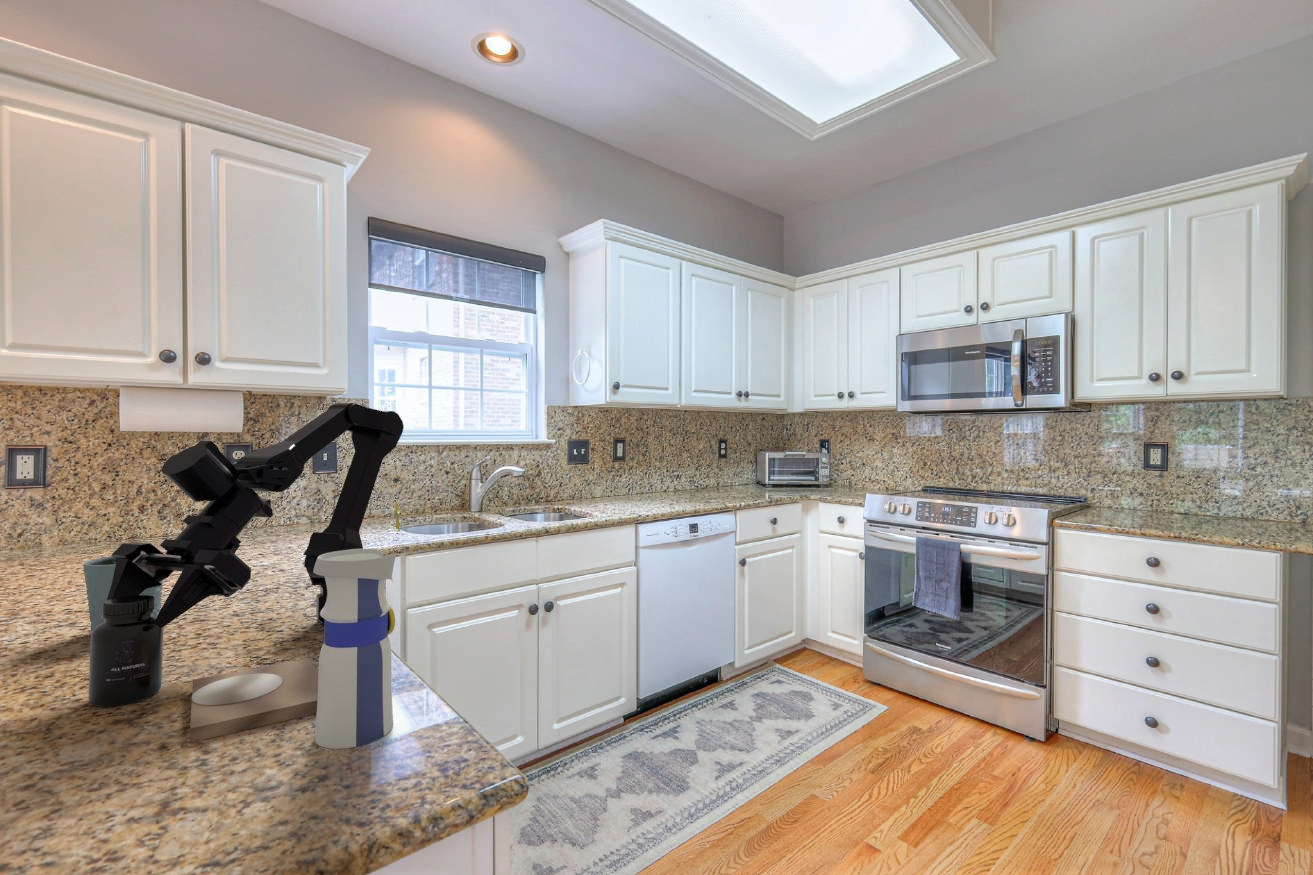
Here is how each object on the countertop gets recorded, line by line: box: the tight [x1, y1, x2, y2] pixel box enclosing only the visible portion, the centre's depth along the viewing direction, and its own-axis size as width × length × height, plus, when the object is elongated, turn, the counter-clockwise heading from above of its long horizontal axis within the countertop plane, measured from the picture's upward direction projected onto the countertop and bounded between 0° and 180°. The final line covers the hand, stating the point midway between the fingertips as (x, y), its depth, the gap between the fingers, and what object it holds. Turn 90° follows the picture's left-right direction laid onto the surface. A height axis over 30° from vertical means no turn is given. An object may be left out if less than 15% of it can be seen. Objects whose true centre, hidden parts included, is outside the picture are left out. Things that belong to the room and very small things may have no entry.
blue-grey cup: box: [82, 555, 164, 633], centre depth 99 cm, size 10×10×12 cm
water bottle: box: [313, 501, 401, 750], centre depth 66 cm, size 8×9×25 cm
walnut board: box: [189, 657, 318, 744], centre depth 73 cm, size 13×16×2 cm
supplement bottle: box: [88, 595, 165, 708], centre depth 74 cm, size 7×7×12 cm
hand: (131, 622), depth 75 cm, fingers open, 9 cm apart
